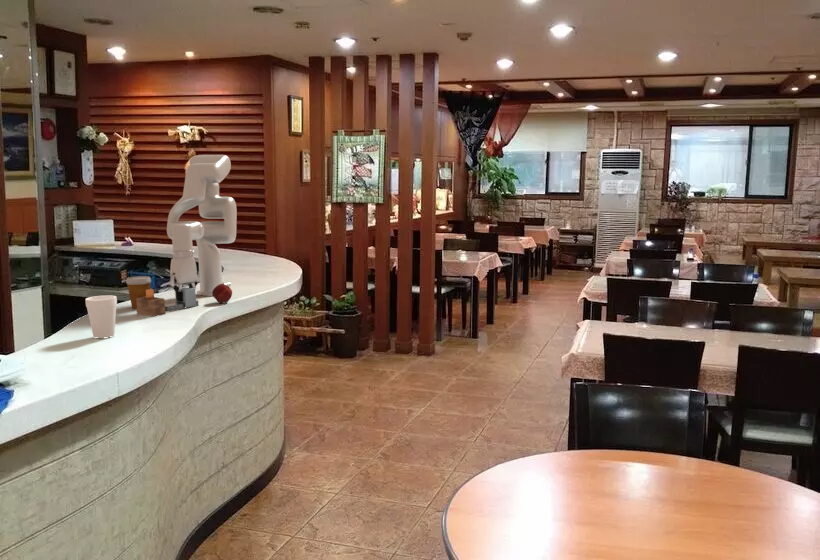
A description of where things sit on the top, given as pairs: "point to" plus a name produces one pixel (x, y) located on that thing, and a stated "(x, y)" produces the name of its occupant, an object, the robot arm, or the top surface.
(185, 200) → the robot arm
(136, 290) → the disposable coffee cup
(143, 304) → the tan slotted block
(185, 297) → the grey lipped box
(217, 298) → the apple
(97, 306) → the foam cup
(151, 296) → the peg
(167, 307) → the rail
